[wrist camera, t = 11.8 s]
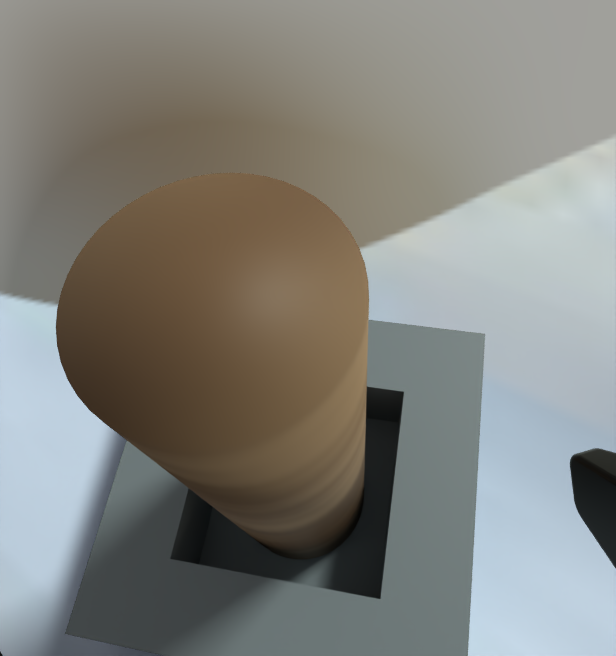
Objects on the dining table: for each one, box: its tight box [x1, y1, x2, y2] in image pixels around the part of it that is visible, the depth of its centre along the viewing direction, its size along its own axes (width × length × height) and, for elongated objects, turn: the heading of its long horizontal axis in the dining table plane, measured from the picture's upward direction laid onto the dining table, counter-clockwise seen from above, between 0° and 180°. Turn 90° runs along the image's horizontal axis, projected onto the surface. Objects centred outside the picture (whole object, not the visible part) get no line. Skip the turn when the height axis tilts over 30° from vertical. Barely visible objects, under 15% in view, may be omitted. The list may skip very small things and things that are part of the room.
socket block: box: [65, 320, 485, 656], centre depth 18 cm, size 10×10×4 cm
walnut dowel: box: [56, 173, 369, 559], centre depth 13 cm, size 4×4×13 cm
